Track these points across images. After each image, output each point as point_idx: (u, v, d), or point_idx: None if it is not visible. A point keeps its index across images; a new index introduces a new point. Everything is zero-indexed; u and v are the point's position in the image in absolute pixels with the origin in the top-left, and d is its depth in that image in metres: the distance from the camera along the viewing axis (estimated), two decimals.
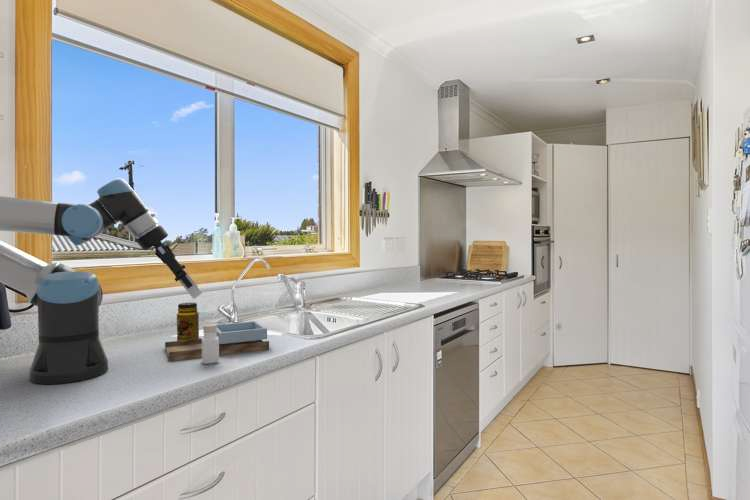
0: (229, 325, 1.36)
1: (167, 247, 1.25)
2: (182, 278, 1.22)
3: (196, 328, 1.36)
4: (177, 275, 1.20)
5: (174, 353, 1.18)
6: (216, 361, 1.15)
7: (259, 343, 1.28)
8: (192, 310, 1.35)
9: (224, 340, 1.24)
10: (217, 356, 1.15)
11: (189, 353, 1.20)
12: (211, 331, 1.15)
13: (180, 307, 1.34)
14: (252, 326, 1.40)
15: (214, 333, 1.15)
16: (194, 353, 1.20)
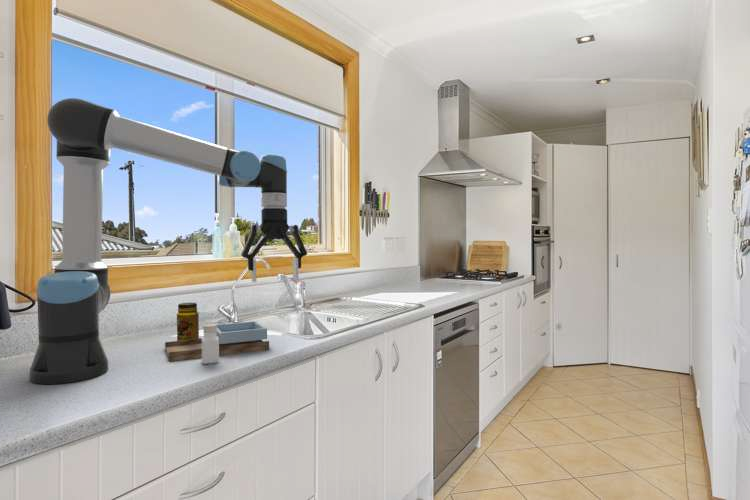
0: (229, 325, 1.36)
1: (269, 229, 1.34)
2: None
3: (196, 328, 1.36)
4: (241, 254, 1.33)
5: (174, 353, 1.18)
6: (216, 361, 1.15)
7: (259, 343, 1.28)
8: (192, 310, 1.35)
9: (224, 340, 1.24)
10: (217, 356, 1.15)
11: (189, 353, 1.20)
12: (211, 331, 1.15)
13: (180, 307, 1.34)
14: (252, 326, 1.40)
15: (214, 333, 1.15)
16: (194, 353, 1.20)
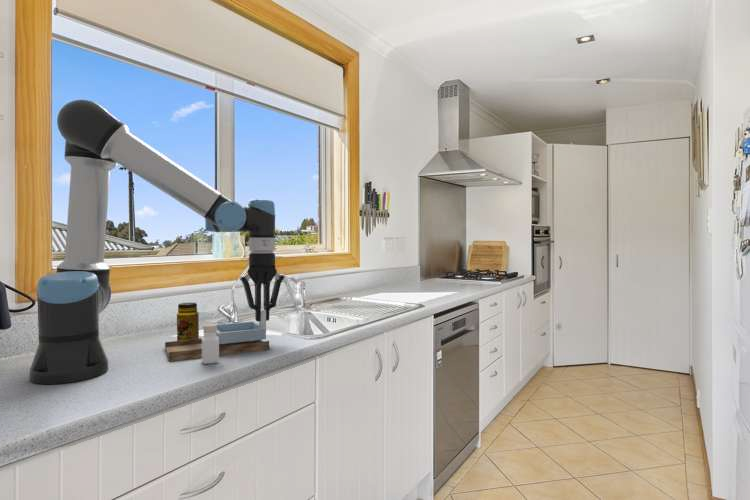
0: (228, 325, 1.36)
1: (257, 275, 1.33)
2: (255, 310, 1.34)
3: (196, 328, 1.36)
4: (249, 305, 1.34)
5: (174, 353, 1.18)
6: (216, 361, 1.15)
7: (259, 343, 1.28)
8: (192, 310, 1.35)
9: (223, 340, 1.24)
10: (217, 356, 1.15)
11: (189, 353, 1.20)
12: (211, 331, 1.15)
13: (180, 307, 1.34)
14: (251, 326, 1.39)
15: (214, 333, 1.16)
16: (194, 353, 1.20)
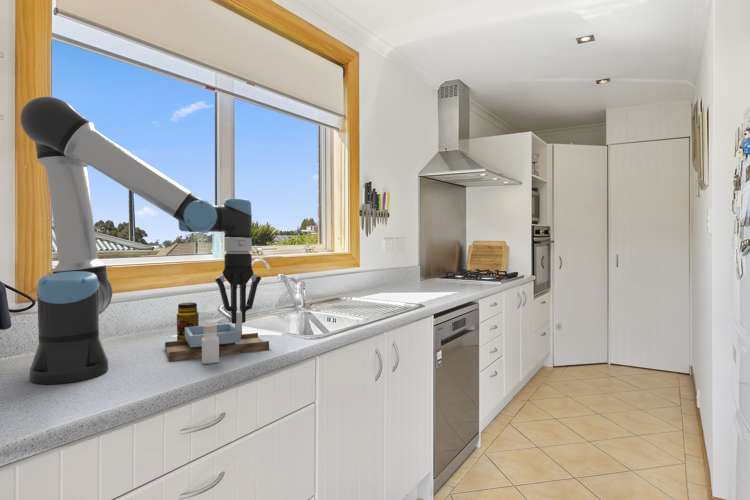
0: None
1: (232, 277, 1.29)
2: (231, 312, 1.31)
3: None
4: (224, 307, 1.31)
5: (174, 353, 1.18)
6: (216, 361, 1.15)
7: (259, 343, 1.28)
8: (192, 310, 1.35)
9: (195, 343, 1.20)
10: (217, 356, 1.15)
11: (189, 353, 1.20)
12: (211, 331, 1.15)
13: (180, 307, 1.34)
14: (227, 328, 1.36)
15: (214, 333, 1.15)
16: (194, 353, 1.20)
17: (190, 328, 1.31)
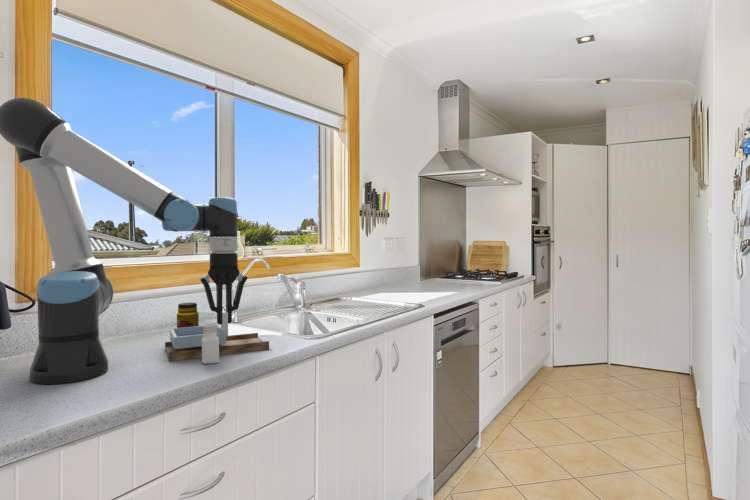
0: (189, 329, 1.31)
1: (218, 276, 1.27)
2: None
3: None
4: (210, 307, 1.29)
5: (174, 353, 1.18)
6: (216, 361, 1.15)
7: (259, 343, 1.28)
8: (192, 310, 1.35)
9: (179, 345, 1.19)
10: (217, 356, 1.15)
11: (189, 353, 1.20)
12: (211, 331, 1.15)
13: (180, 307, 1.34)
14: None
15: (214, 333, 1.15)
16: (194, 353, 1.20)
17: (175, 329, 1.29)
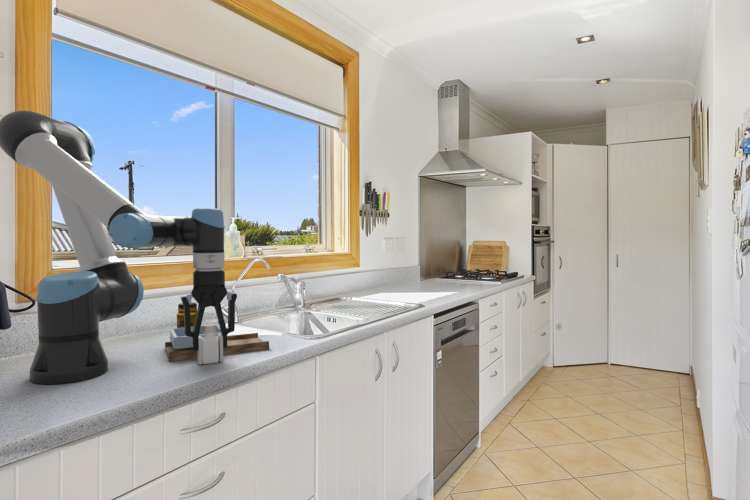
0: None
1: (202, 297, 1.13)
2: (192, 337, 1.14)
3: None
4: (185, 331, 1.14)
5: (174, 353, 1.18)
6: (216, 361, 1.15)
7: (259, 343, 1.28)
8: (192, 310, 1.35)
9: (179, 345, 1.19)
10: (217, 356, 1.15)
11: (189, 353, 1.20)
12: (210, 331, 1.15)
13: (180, 307, 1.34)
14: None
15: (214, 333, 1.15)
16: (194, 353, 1.20)
17: (175, 329, 1.29)
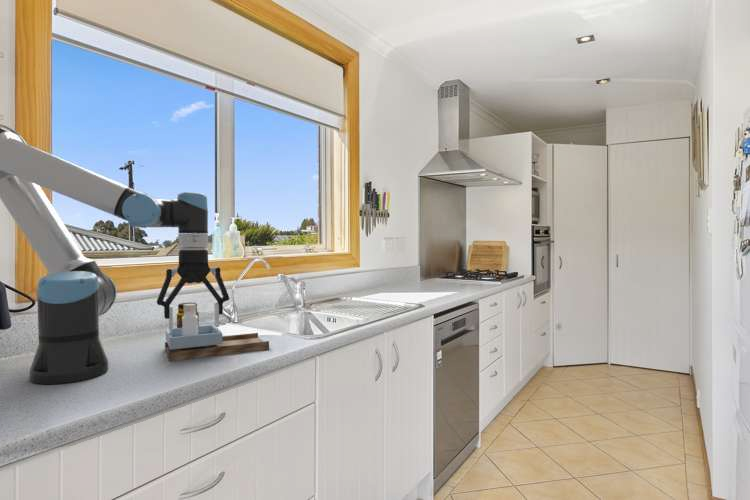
0: None
1: (186, 273, 1.24)
2: None
3: None
4: (157, 301, 1.22)
5: (174, 353, 1.18)
6: None
7: (259, 343, 1.28)
8: None
9: (175, 345, 1.18)
10: (196, 333, 1.25)
11: (189, 353, 1.20)
12: (190, 309, 1.25)
13: (180, 307, 1.34)
14: (210, 330, 1.34)
15: (193, 312, 1.25)
16: (194, 353, 1.20)
17: None
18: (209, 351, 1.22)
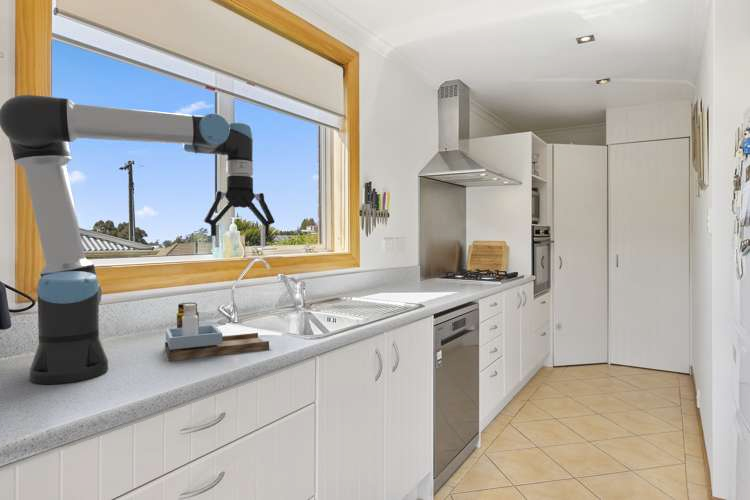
0: None
1: (234, 196, 1.35)
2: None
3: None
4: (204, 219, 1.33)
5: (174, 353, 1.18)
6: None
7: (259, 343, 1.28)
8: None
9: (175, 345, 1.18)
10: (196, 333, 1.25)
11: (189, 353, 1.20)
12: (190, 310, 1.25)
13: (180, 307, 1.34)
14: (210, 330, 1.34)
15: (193, 312, 1.25)
16: (194, 353, 1.20)
17: (171, 330, 1.29)
18: (209, 351, 1.22)
